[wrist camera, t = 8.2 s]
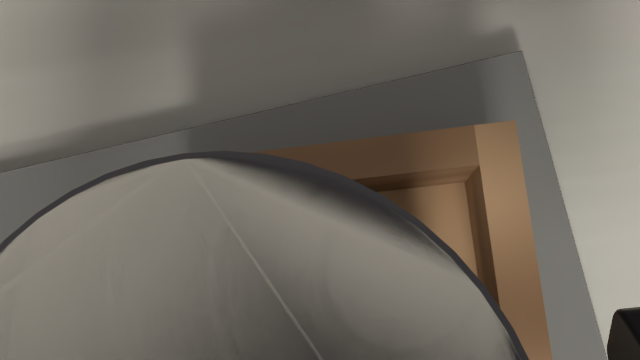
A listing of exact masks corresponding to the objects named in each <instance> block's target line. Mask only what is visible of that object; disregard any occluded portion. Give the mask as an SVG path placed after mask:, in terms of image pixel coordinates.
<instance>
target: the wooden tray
mask: <svg viewBox="0 0 640 360" xmlns="http://www.w3.org/2000/svg"><path fill="white" fill-rule="evenodd" d="M249 153H262V154H268V155H273V156H278V157H283V158H288V159H292V160H297V161H302V162H306V163H309V164H312V165H315V166H318V167H320V168H323V169H326V170H329V171H332V172H335V173H338V174H340V175H343V176H346V177H348V178H350V179H352V180H354V181H356V182H358V183H360V184H362V185H363V186H365V187H367V188H369V189H371V190H373V191H375V192H377V193H379V194H381V195H383V196H385V197H386V198H388V199H389V200H391V201H392V202H394V203H395V204H397V205H398V206H399V207H401V208H402V209H404V210H405V211H407V212H408V213H410V214H411V215H413V216H414V217H416V218H417V219H419V220H420V221H421V222H422V223H423V224H425V225H426V226H427V227H428V228H429V229H430V230H431V231H432V232H434V233H435V234H436V235H437V236H438V237H439V238H440V239H441V240H443V241H444V242H445V243H446V244H447V245H448V246H449V247H450V248H452V249H453V250H454V251H455V252H456V253H457V254H458V256H459V257H460V258H461V259H462V260H463V261H464V262H465V264H466V265H467V266H468V267H469V268H470V269H471V271H472V272H473V273H474V274H475V275H476V276H477V277H478V279H479V280H480V281H481V282H482V283H483V284H484V285H485V287H486V288H487V289H488V291H489V292H490V294H491V295H492V297H493V298H494V300H495V301H496V303H497V304H498V306H499V307H500V309H501V310H502V312H503V313H504V315H505V316H506V318H507V319H508V321H509V322H510V324H511V325H512V327H513V328H514V330H515V332H516V334H517V336H518V338H519V340H520V342H521V344H522V346H523V348H524V350H525V352H526V354H527V356H528V358H529V360H553V359H552V353H551V347H550V340H549V334H548V327H547V321H546V314H545V308H544V301H543V295H542V288H541V282H540V275H539V269H538V262H537V256H536V249H535V243H534V236H533V230H532V223H531V217H530V210H529V204H528V197H527V191H526V184H525V178H524V171H523V165H522V159H521V152H520V146H519V139H518V133H517V126H516V120H512V121H504V122H496V123H487V124H479V125H471V126H463V127H455V128H446V129H438V130H430V131H422V132H413V133H405V134H397V135H389V136H381V137H372V138H364V139H356V140H348V141H340V142H331V143H323V144H315V145H307V146H298V147H290V148H282V149H274V150H266V151H257V152H249Z"/></svg>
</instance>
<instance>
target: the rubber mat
mask: <svg viewBox="0 0 640 360" xmlns="http://www.w3.org/2000/svg"><path fill="white" fill-rule="evenodd" d="M512 120H516V126H517V133H518V139H519V146H520V152H521V159H522V165H523V171H524V178H525V184H526V191H527V197H528V204H529V210H530V217H531V223H532V230H533V236H534V243H535V249H536V256H537V262H538V269H539V275H540V282H541V288H542V295H543V301H544V308H545V314H546V321H547V327H548V334H549V340H550V347H551V353H552V359H553V360H607V357H606V353H605V350H604V346H603V342H602V339H601V335H600V331H599V328H598V324H597V321H596V317H595V313H594V310H593V306H592V303H591V299H590V295H589V292H588V288H587V284H586V281H585V277H584V274H583V270H582V266H581V263H580V259H579V256H578V252H577V248H576V245H575V241H574V237H573V234H572V230H571V227H570V223H569V219H568V216H567V212H566V209H565V205H564V201H563V198H562V194H561V190H560V187H559V183H558V180H557V176H556V172H555V169H554V165H553V162H552V158H551V154H550V151H549V147H548V143H547V140H546V136H545V133H544V129H543V125H542V122H541V118H540V115H539V111H538V107H537V104H536V100H535V96H534V93H533V89H532V86H531V82H530V78H529V75H528V71H527V68H526V64H525V60H524V57H523V53H522V51H518V52H513V53H509V54H505V55H501V56H496V57H492V58H488V59H484V60H479V61H475V62H471V63H467V64H462V65H458V66H454V67H449V68H445V69H441V70H437V71H432V72H428V73H424V74H420V75H415V76H411V77H407V78H403V79H398V80H394V81H390V82H385V83H381V84H377V85H373V86H368V87H364V88H360V89H356V90H351V91H347V92H343V93H339V94H334V95H330V96H326V97H322V98H317V99H313V100H309V101H304V102H300V103H296V104H292V105H287V106H283V107H279V108H275V109H270V110H266V111H262V112H258V113H253V114H249V115H245V116H241V117H236V118H232V119H228V120H223V121H219V122H215V123H211V124H206V125H202V126H198V127H194V128H189V129H185V130H181V131H177V132H172V133H168V134H164V135H159V136H155V137H151V138H147V139H142V140H138V141H134V142H130V143H125V144H121V145H117V146H113V147H108V148H104V149H100V150H96V151H91V152H87V153H83V154H78V155H74V156H70V157H66V158H61V159H57V160H53V161H49V162H44V163H40V164H36V165H32V166H27V167H23V168H19V169H15V170H10V171H6V172H2V173H0V244H1V243H2V242H3V241H4V240H5V239H6V238H7V237H8V236H10V235H11V234H12V233H13V232H14V231H16V230H17V229H18V228H19V227H20V226H22V225H23V224H24V223H25V222H26V221H27V220H29V219H30V218H31V217H32V216H33V215H35V214H36V213H37V212H39V211H40V210H42V209H43V208H45V207H46V206H48V205H49V204H51V203H53V202H54V201H56V200H57V199H59V198H60V197H62V196H63V195H65V194H66V193H68V192H69V191H71V190H73V189H75V188H77V187H80V186H82V185H84V184H86V183H88V182H90V181H92V180H94V179H96V178H98V177H100V176H102V175H104V174H106V173H109V172H112V171H115V170H118V169H121V168H124V167H127V166H130V165H133V164H136V163H139V162H142V161H146V160H151V159H156V158H161V157H167V156H172V155H177V154H182V153H195V152H211V151H234V152H248V153H249V152H257V151H266V150H274V149H282V148H290V147H298V146H307V145H315V144H323V143H331V142H340V141H348V140H356V139H364V138H372V137H381V136H389V135H397V134H405V133H413V132H422V131H430V130H438V129H446V128H455V127H463V126H471V125H479V124H487V123H496V122H504V121H512Z"/></svg>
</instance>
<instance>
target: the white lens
mask: <svg viewBox="0 0 640 360" xmlns="http://www.w3.org/2000/svg"><path fill="white" fill-rule="evenodd" d="M0 360H529V358H528V356H527V354H526V352H525V350H524V348H523V346H522V344H521V342H520V340H519V338H518V336H517V334H516V332H515V330H514V328H513V327H512V325H511V324H510V322H509V321H508V319H507V318H506V316H505V315H504V313H503V312H502V310H501V309H500V307H499V306H498V304H497V303H496V301H495V300H494V298H493V297H492V295H491V294H490V292H489V291H488V289H487V288H486V287H485V285H484V284H483V283H482V282H481V281H480V280H479V279H478V277H477V276H476V275H475V274H474V273H473V272H472V271H471V269H470V268H469V267H468V266H467V265H466V264H465V262H464V261H463V260H462V259H461V258H460V257H459V256H458V254H457V253H456V252H455V251H454V250H453V249H452V248H450V247H449V246H448V245H447V244H446V243H445V242H444V241H443V240H441V239H440V238H439V237H438V236H437V235H436V234H435V233H434V232H432V231H431V230H430V229H429V228H428V227H427V226H426V225H425V224H423V223H422V222H421V221H420V220H419V219H417V218H416V217H414V216H413V215H411V214H410V213H408V212H407V211H405V210H404V209H402V208H401V207H399V206H398V205H397V204H395V203H394V202H392V201H391V200H389V199H388V198H386V197H385V196H383V195H381V194H379V193H377V192H375V191H373V190H371V189H369V188H367V187H365V186H363V185H362V184H360V183H358V182H356V181H354V180H352V179H350V178H348V177H346V176H343V175H340V174H338V173H335V172H332V171H329V170H326V169H323V168H320V167H318V166H315V165H312V164H309V163H306V162H302V161H297V160H292V159H288V158H283V157H278V156H273V155H268V154H262V153H248V152H234V151H211V152H195V153H182V154H177V155H172V156H167V157H161V158H156V159H151V160H146V161H142V162H139V163H136V164H133V165H130V166H127V167H124V168H121V169H118V170H115V171H112V172H109V173H106V174H104V175H102V176H100V177H98V178H96V179H94V180H92V181H90V182H88V183H86V184H84V185H82V186H80V187H77V188H75V189H73V190H71V191H69V192H68V193H66V194H65V195H63V196H62V197H60V198H59V199H57V200H56V201H54V202H53V203H51V204H49V205H48V206H46V207H45V208H43V209H42V210H40V211H39V212H37V213H36V214H35V215H33V216H32V217H31V218H30V219H29V220H27V221H26V222H25V223H24V224H23V225H22V226H20V227H19V228H18V229H17V230H16V231H14V232H13V233H12V234H11V235H10V236H8V237H7V238H6V239H5V240H4V241H3V242H2V243H1V244H0Z"/></svg>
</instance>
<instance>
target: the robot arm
mask: <svg viewBox="0 0 640 360" xmlns="http://www.w3.org/2000/svg"><path fill="white" fill-rule="evenodd" d="M607 354H608V360H640V307H635V308H625V309H619V310H617V311H616V312H615V313H614V315H613V319H612V324H611V329H610V334H609V339H608V344H607Z"/></svg>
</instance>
